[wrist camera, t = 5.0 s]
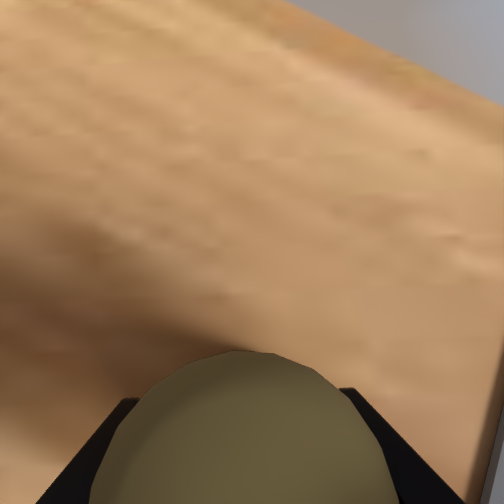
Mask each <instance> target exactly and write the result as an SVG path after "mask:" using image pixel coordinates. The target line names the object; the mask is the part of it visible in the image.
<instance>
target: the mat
mask: <svg viewBox="0 0 504 504" xmlns="http://www.w3.org/2000/svg"><path fill="white" fill-rule="evenodd" d="M480 504H504V405H503V409H502V413H501V418H500V422H499V426H498V430H497V434H496V438H495V442H494V446H493V451H492V455H491V459H490V463H489V467H488V471H487V475H486V479H485V484H484V488H483V492H482V496H481V500H480Z"/></svg>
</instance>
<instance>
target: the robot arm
mask: <svg viewBox="0 0 504 504" xmlns="http://www.w3.org/2000/svg"><path fill="white" fill-rule="evenodd" d="M338 390H340V391H341V392H342V393H343V394H344V395H346V396H347V397H348V398H349V399H350V400H351V402H352V403H353V405H354V406H355V408H356V409H357V411H358V412H359V414H360V415H361V417H362V418H363V420H364V421H365V423H366V424H367V426H368V427H369V429H370V430H371V432H372V433H373V434H374V436H375V437H376V439H377V441H378V443H379V445H380V446H381V448H382V451H383V454H384V457H385V460H386V463H387V466H388V469H389V472H390V475H391V478H392V481H393V484H394V487H395V490H396V493H397V496H398V499H399V504H466V503H465V502H464V501H463V500H462V499H461V498H460V497H459V496H458V495H457V494H456V493H455V492H454V491H453V490H452V489H451V488H450V487H449V486H448V485H447V484H446V483H445V482H444V480H443V479H442V478H441V477H440V476H439V475H438V474H437V473H436V472H435V471H434V470H433V469H432V468H431V467H430V466H429V465H428V464H427V463H426V462H425V461H424V460H423V459H422V458H421V457H420V456H419V455H418V453H417V452H416V451H415V450H414V449H413V448H412V447H411V446H410V445H409V444H408V443H407V442H406V441H405V440H404V439H403V438H402V437H401V436H400V435H399V434H398V433H397V432H396V431H395V430H394V429H393V428H392V426H391V425H390V424H389V423H388V422H387V421H386V420H385V419H384V418H383V417H382V416H381V415H380V414H379V413H378V412H377V411H376V410H375V409H374V408H373V407H372V406H371V405H370V404H369V403H368V402H367V401H366V399H365V398H364V397H363V396H362V395H361V394H360V393H359V392H358V391H357V390H356V389H354V388H351V387H350V388H339V389H338ZM139 400H140V398H124V399H123V400H121V401H120V403H119V404H118V405H117V406H116V407H115V409H114V410H113V411H112V412H111V413H110V415H109V416H108V417H107V418H106V419H105V421H104V422H103V423H102V424H101V425H100V427H99V428H98V429H97V430H96V431H95V433H94V434H93V435H92V436H91V437H90V439H89V440H88V441H87V442H86V443H85V445H84V446H83V447H82V448H81V449H80V451H79V452H78V453H77V454H76V455H75V457H74V458H73V459H72V460H71V461H70V463H69V464H68V465H67V466H66V467H65V469H64V470H63V471H62V472H61V473H60V475H59V476H58V477H57V478H56V479H55V481H54V482H53V483H52V484H51V486H50V487H49V488H48V489H47V490H46V492H45V493H44V494H43V495H42V496H41V498H40V499H39V500H38V501H37V502H36V504H89V499H90V492H91V486H92V484H93V481H94V478H95V476H96V474H97V471H98V469H99V467H100V465H101V462H102V460H103V458H104V456H105V454H106V451H107V449H108V447H109V445H110V443H111V440H112V438H113V436H114V434H115V431H116V429H117V427H118V425H119V424H120V423H121V422H122V421H123V419H124V418H125V417H126V416H127V415H128V414H129V412H130V411H131V410H132V409H133V408H134V406H135V405H136V404H137V403H138V402H139Z"/></svg>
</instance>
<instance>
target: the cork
mask: <svg viewBox="0 0 504 504" xmlns="http://www.w3.org/2000/svg"><path fill="white" fill-rule="evenodd" d="M89 504H399V499H398V496H397V493H396V490H395V487H394V484H393V481H392V478H391V475H390V472H389V469H388V466H387V463H386V460H385V457H384V454H383V451H382V448H381V446H380V445H379V443H378V441H377V439H376V437H375V436H374V434H373V433H372V432H371V430H370V429H369V427H368V426H367V424H366V423H365V421H364V420H363V418H362V417H361V415H360V414H359V412H358V411H357V409H356V408H355V406H354V405H353V403H352V402H351V400H350V399H349V398H348V397H347V396H346V395H344V394H343V393H342V392H341V391H340V390H338V389H337V388H336V387H335V386H333V385H332V384H331V383H330V382H329V381H327V380H326V379H325V378H324V377H323V376H321V375H320V374H319V373H318V372H316V371H315V370H314V369H312V368H309V367H306V366H304V365H301V364H299V363H296V362H294V361H291V360H289V359H286V358H284V357H281V356H279V355H276V354H274V353H256V352H252V351H234V350H232V351H229V352H225V353H221V354H218V355H214V356H211V357H208V358H204V359H200V360H197V361H193V362H190V363H188V364H186V365H184V366H183V367H181V368H180V369H178V370H177V371H175V372H174V373H172V374H171V375H169V376H168V377H166V378H165V379H163V380H162V381H160V382H158V383H157V384H155V385H154V386H152V387H151V388H150V389H149V390H148V391H147V392H146V393H145V395H144V396H143V397H142V398H141V399H140V400H139V402H138V403H137V404H136V405H135V406H134V408H133V409H132V410H131V411H130V412H129V414H128V415H127V416H126V417H125V418H124V419H123V421H122V422H121V423H120V424H119V425H118V427H117V429H116V431H115V434H114V436H113V438H112V440H111V443H110V445H109V447H108V449H107V451H106V454H105V456H104V458H103V460H102V462H101V465H100V467H99V469H98V471H97V474H96V476H95V478H94V481H93V484H92V486H91V492H90V499H89Z"/></svg>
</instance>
